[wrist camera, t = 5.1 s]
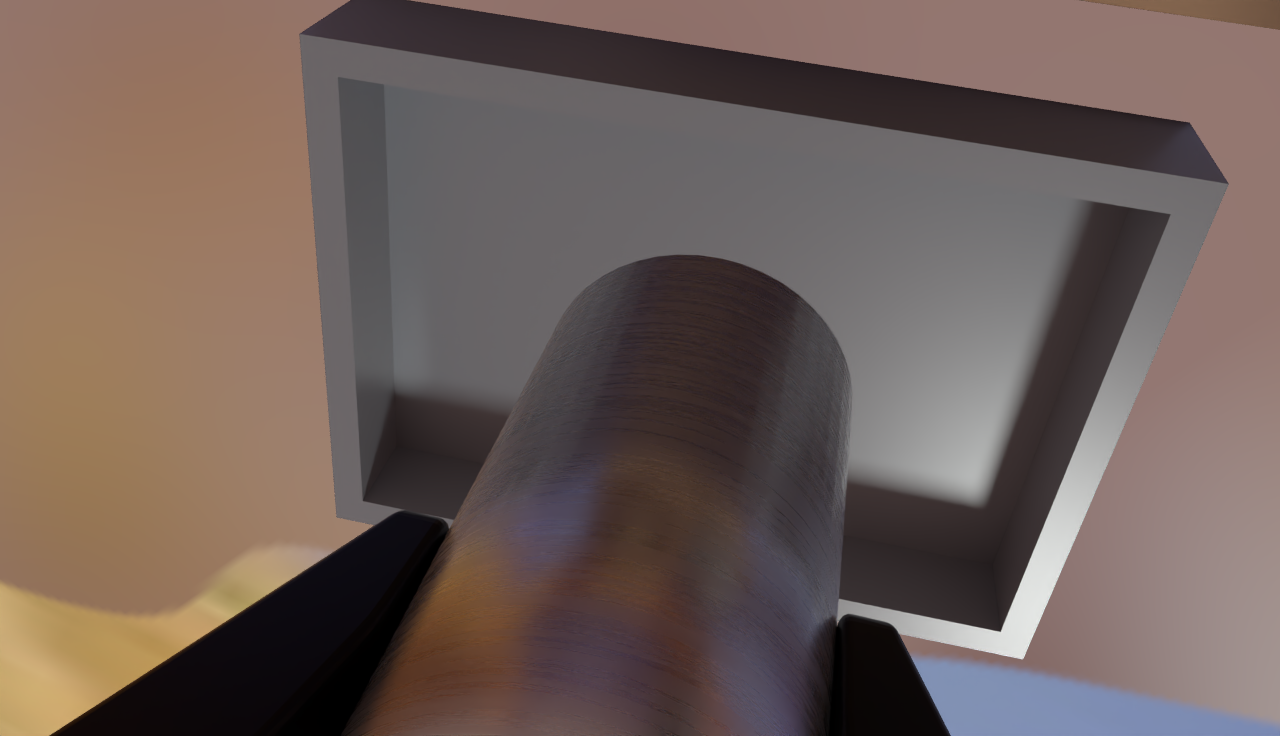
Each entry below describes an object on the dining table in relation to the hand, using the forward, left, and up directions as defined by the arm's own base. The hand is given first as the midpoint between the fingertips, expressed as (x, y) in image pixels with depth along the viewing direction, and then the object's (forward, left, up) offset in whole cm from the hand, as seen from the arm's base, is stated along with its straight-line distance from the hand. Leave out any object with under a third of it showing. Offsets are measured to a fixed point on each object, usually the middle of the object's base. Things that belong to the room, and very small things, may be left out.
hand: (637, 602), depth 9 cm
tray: (0, +4, -12) cm, 13 cm away
